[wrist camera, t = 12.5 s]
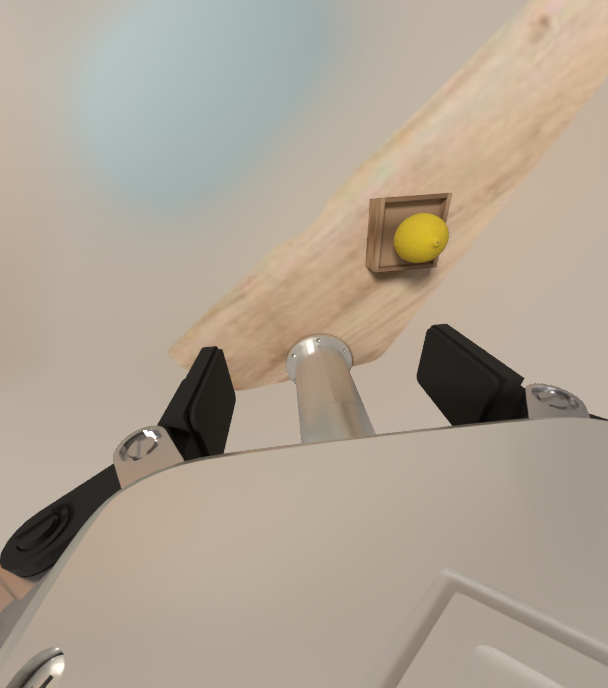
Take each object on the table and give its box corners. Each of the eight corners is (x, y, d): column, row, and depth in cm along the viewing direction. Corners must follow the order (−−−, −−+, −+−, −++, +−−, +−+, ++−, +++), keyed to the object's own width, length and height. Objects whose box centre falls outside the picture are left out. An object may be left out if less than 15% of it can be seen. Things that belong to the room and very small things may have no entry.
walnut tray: (421, 261, 37) (436, 267, 34) (365, 265, 37) (374, 272, 33) (433, 194, 33) (452, 192, 29) (370, 198, 32) (381, 198, 29)
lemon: (431, 233, 32) (472, 239, 26) (400, 264, 34) (430, 279, 27) (408, 202, 30) (446, 200, 23) (376, 237, 32) (402, 246, 25)
